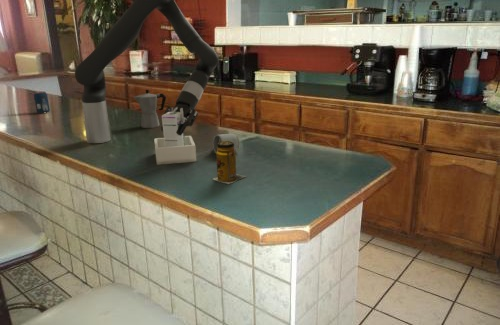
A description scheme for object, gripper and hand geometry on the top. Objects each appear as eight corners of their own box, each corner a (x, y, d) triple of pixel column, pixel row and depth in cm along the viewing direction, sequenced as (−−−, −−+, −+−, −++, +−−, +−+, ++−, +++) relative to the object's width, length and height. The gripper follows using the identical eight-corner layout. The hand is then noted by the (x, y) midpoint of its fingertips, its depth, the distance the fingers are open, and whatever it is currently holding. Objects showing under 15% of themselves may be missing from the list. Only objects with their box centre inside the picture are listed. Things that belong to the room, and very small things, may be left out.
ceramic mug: (241, 152, 152) (240, 133, 150) (223, 156, 148) (222, 137, 145) (226, 147, 160) (225, 128, 158) (208, 151, 156) (207, 132, 154)
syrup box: (179, 154, 144) (176, 115, 140) (164, 153, 145) (161, 114, 141) (185, 149, 150) (182, 111, 145) (170, 148, 151) (167, 111, 146)
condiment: (211, 179, 126) (210, 143, 122) (229, 172, 132) (228, 137, 128) (228, 184, 121) (227, 147, 118) (246, 177, 128) (245, 141, 124)
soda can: (42, 111, 235) (38, 91, 231) (52, 111, 234) (49, 91, 230) (34, 113, 228) (30, 93, 225) (45, 114, 228) (41, 93, 224)
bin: (156, 164, 140) (155, 148, 138) (155, 153, 153) (154, 138, 151) (196, 161, 143) (195, 145, 141) (191, 150, 156) (191, 135, 154)
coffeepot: (138, 129, 190) (134, 91, 184) (135, 125, 198) (131, 89, 192) (170, 126, 196) (167, 89, 190) (166, 122, 204) (163, 87, 198)
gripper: (170, 88, 150) (150, 124, 145) (199, 91, 142) (179, 129, 137) (181, 100, 156) (162, 135, 150) (209, 103, 148) (190, 141, 143)
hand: (170, 132), depth 144 cm, fingers closed on syrup box, 7 cm apart
